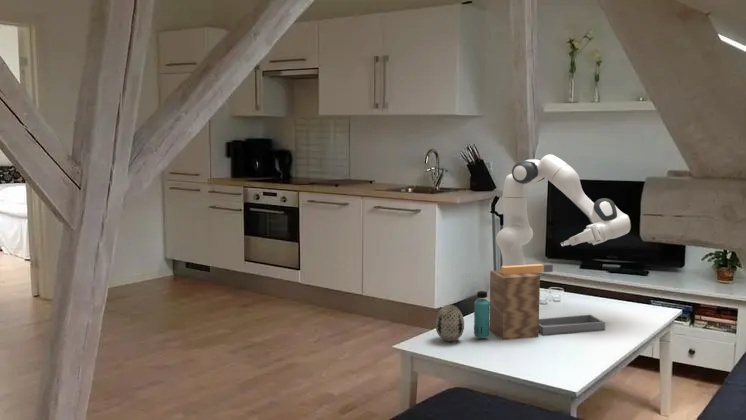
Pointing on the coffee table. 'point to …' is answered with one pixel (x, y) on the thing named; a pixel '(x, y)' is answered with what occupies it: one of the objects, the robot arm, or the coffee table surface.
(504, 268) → the marker
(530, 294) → the stand
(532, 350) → the coffee table surface
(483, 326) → the beverage bottle
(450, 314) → the decorative egg
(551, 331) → the tray
